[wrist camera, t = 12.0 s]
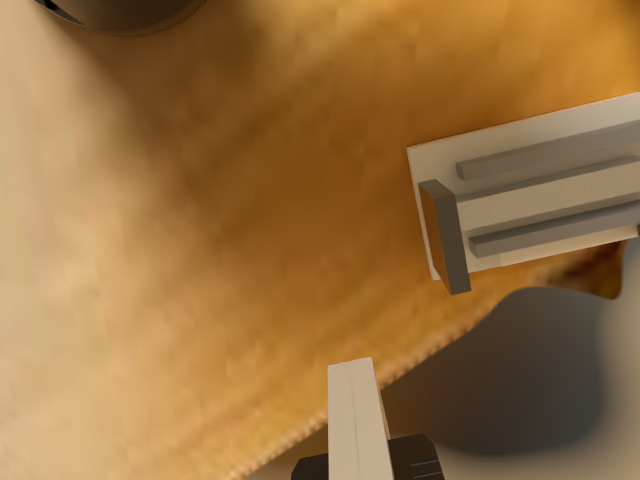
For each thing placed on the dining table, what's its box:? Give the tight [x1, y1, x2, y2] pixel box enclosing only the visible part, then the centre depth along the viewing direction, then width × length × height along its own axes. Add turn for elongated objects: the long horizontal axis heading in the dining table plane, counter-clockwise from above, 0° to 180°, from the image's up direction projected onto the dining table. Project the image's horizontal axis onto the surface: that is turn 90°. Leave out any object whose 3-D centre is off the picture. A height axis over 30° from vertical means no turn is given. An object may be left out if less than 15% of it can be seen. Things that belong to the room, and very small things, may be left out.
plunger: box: [418, 155, 640, 295], centre depth 32 cm, size 16×8×7 cm, turn 104°
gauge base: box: [406, 91, 640, 281], centre depth 34 cm, size 26×10×6 cm, turn 104°
